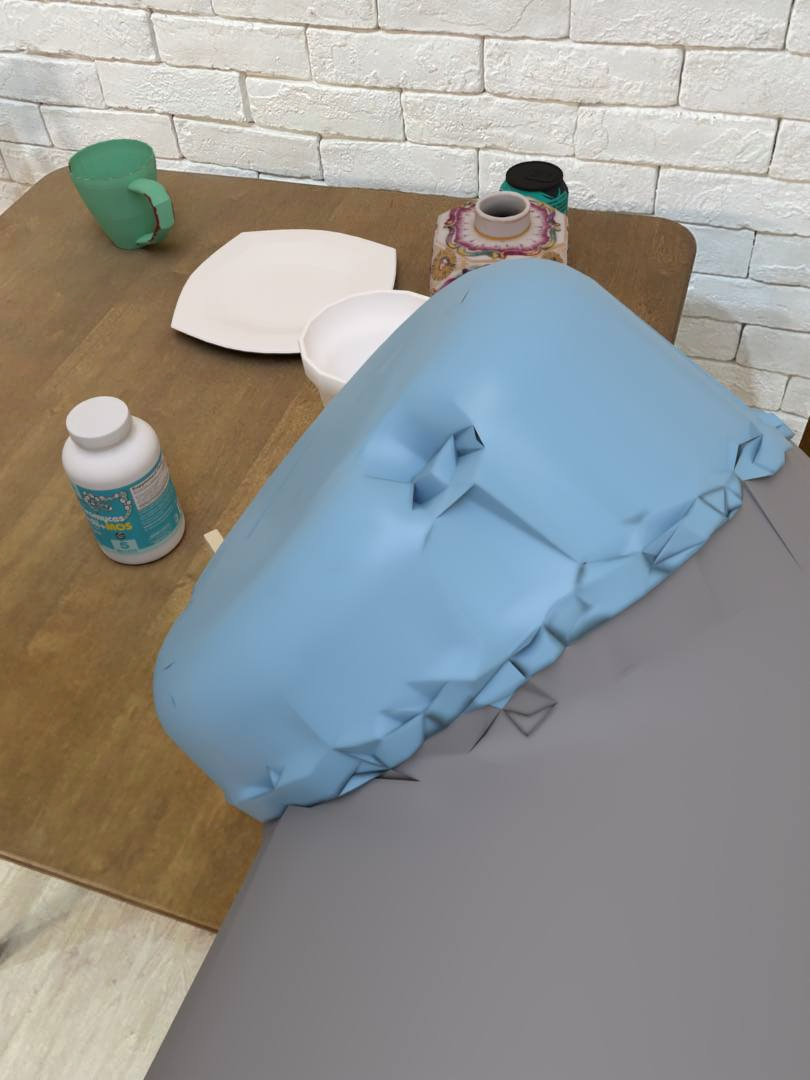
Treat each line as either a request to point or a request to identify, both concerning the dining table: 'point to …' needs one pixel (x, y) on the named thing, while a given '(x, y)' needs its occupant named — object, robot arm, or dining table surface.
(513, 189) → the teal jar
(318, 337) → the cup
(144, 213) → the mug
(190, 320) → the plate
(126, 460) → the pill bottle
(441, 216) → the decorative jar
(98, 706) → the dining table surface
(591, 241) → the dining table surface
